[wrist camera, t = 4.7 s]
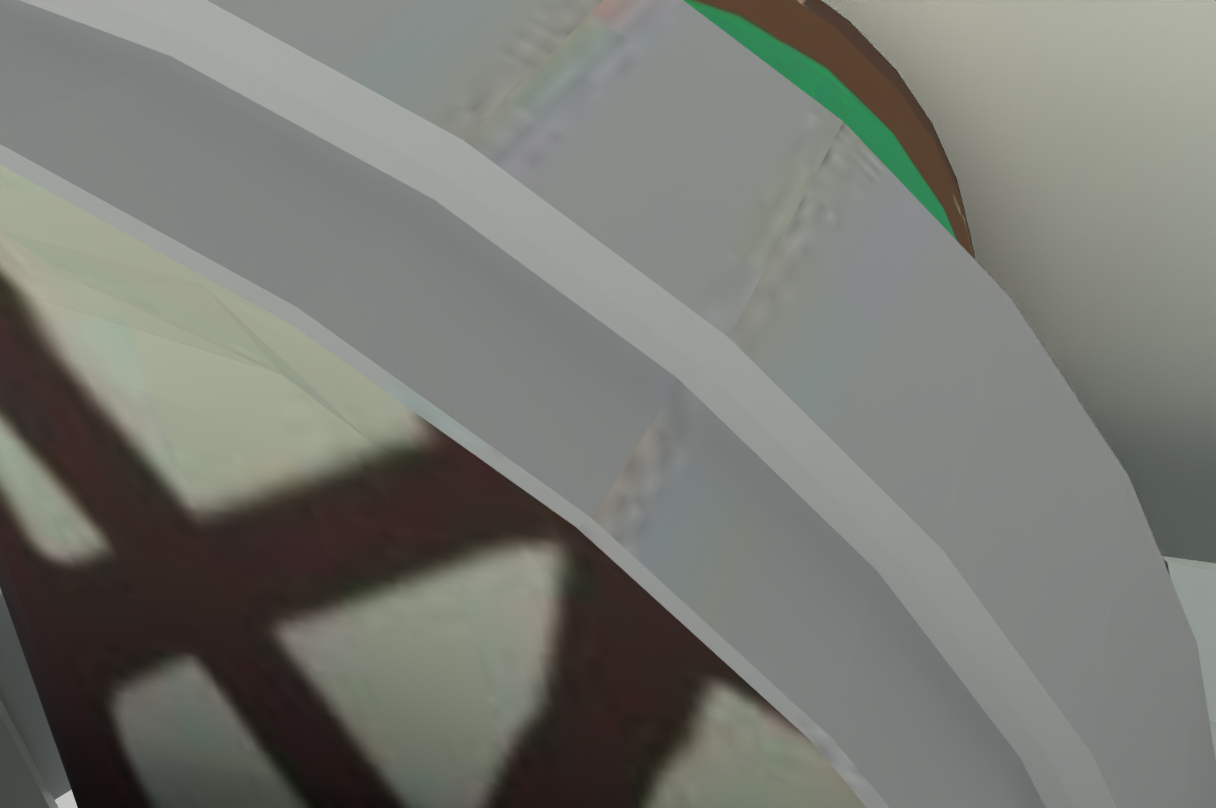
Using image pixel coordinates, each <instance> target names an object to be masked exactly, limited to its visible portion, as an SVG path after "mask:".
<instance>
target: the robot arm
mask: <svg viewBox="0 0 1216 808" xmlns="http://www.w3.org/2000/svg"><path fill="white" fill-rule="evenodd" d="M1162 558H1163V561H1164V563H1165V566H1166V568H1167V571H1168V573H1169V576H1170V578H1171V580H1172V583H1173V585H1174V588H1175V590H1176V593H1177V595H1178V598H1179V600H1180V603H1181V605H1182V607H1183V610H1184V612H1185V615H1186V617H1187V620H1188V622H1189V625H1190V627H1191V630H1192V632H1193V634H1194V637H1195V639H1196V642H1197V646H1198V652H1199V659H1200V665H1201V671H1202V677H1203V684H1204V690H1205V696H1206V703H1207V709H1208V715H1209V722H1210V728H1211V734H1212V741H1213V747H1214V753H1215V759H1216V563H1210V562H1203V561H1195V560H1188V559H1181V558H1173V557H1166V556H1162ZM70 790H71V787H70V784H69V781H68V778H67V775H66V772H65V770H64V767H63V764H62V761H61V758H60V755H59V753H58V750H57V747H56V744H55V741H54V738H53V736H52V733H51V730H50V727H49V724H48V721H47V719H46V716H45V713H44V710H43V707H42V704H41V702H40V699H39V696H38V693H37V690H36V687H35V685H34V682H33V679H32V676H31V673H30V670H29V668H28V665H27V662H26V659H25V656H24V653H23V651H22V648H21V645H20V642H19V639H18V636H17V634H16V631H15V628H14V625H13V622H12V619H11V617H10V614H9V611H8V608H7V605H6V602H5V600H4V597H3V594H2V591H1V588H0V808H58V806H57V804H56V802H55V799H57V798H58V797H60V796H62V795H63V794H65V793H67V792H68V791H70Z"/></svg>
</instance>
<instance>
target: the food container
mask: <svg viewBox="0 0 1216 808" xmlns="http://www.w3.org/2000/svg"><path fill="white" fill-rule="evenodd" d="M0 588H1V591H2V594H3V597H4V600H5V602H6V605H7V608H8V611H9V614H10V617H11V619H12V622H13V625H14V628H15V631H16V634H17V636H18V639H19V642H20V645H21V648H22V651H23V653H24V656H25V659H26V662H27V665H28V668H29V670H30V673H31V676H32V679H33V682H34V685H35V687H36V690H37V693H38V696H39V699H40V702H41V704H42V707H43V710H44V713H45V716H46V719H47V721H48V724H49V727H50V730H51V733H52V736H53V738H54V741H55V744H56V747H57V750H58V753H59V755H60V758H61V761H62V764H63V767H64V770H65V772H66V775H67V778H68V781H69V784H70V787H71V789H72V792H73V795H74V798H75V801H76V804H77V806H78V808H1216V759H1215V753H1214V747H1213V741H1212V734H1211V728H1210V722H1209V715H1208V709H1207V703H1206V696H1205V690H1204V684H1203V677H1202V671H1201V665H1200V659H1199V652H1198V646H1197V642H1196V639H1195V637H1194V634H1193V632H1192V630H1191V627H1190V625H1189V622H1188V620H1187V617H1186V615H1185V612H1184V610H1183V607H1182V605H1181V603H1180V600H1179V598H1178V595H1177V593H1176V590H1175V588H1174V585H1173V583H1172V580H1171V578H1170V576H1169V573H1168V571H1167V568H1166V566H1165V563H1164V561H1163V558H1162V556H1161V553H1160V551H1159V549H1158V546H1157V544H1156V541H1155V539H1154V536H1153V534H1152V531H1151V529H1150V526H1149V524H1148V522H1147V519H1146V517H1145V514H1144V512H1143V509H1142V507H1141V504H1140V502H1139V500H1138V497H1137V495H1136V492H1135V490H1134V487H1133V485H1132V482H1131V480H1130V477H1129V475H1128V474H1127V472H1126V471H1125V469H1124V468H1123V466H1122V465H1121V463H1120V462H1119V460H1118V459H1117V457H1116V456H1115V454H1114V453H1113V451H1112V450H1111V448H1110V447H1109V445H1108V444H1107V442H1106V441H1105V439H1104V438H1103V436H1102V435H1101V433H1100V432H1099V430H1098V429H1097V427H1096V426H1095V424H1094V423H1093V421H1092V420H1091V418H1090V417H1089V415H1088V414H1087V412H1086V411H1085V409H1084V408H1083V406H1082V404H1081V403H1080V401H1079V400H1078V398H1077V397H1076V395H1075V394H1074V392H1073V391H1072V389H1071V388H1070V386H1069V385H1068V383H1067V382H1066V380H1065V379H1064V377H1063V376H1062V374H1061V373H1060V371H1059V370H1058V368H1057V367H1056V365H1055V364H1054V362H1053V361H1052V359H1051V358H1050V356H1049V355H1048V353H1047V352H1046V350H1045V349H1044V347H1043V346H1042V344H1041V343H1040V341H1039V340H1038V338H1037V337H1036V335H1035V334H1034V332H1033V331H1032V329H1031V328H1030V326H1029V324H1028V323H1027V321H1026V320H1025V318H1024V317H1023V315H1022V314H1021V312H1020V311H1019V309H1018V308H1017V306H1016V305H1015V303H1014V302H1013V300H1012V299H1011V297H1010V296H1009V295H1008V294H1007V293H1006V292H1005V291H1004V290H1003V289H1002V288H1001V287H1000V286H999V285H998V284H997V283H996V282H995V280H994V279H993V278H992V277H991V276H990V275H989V274H988V273H987V272H986V271H985V270H984V269H983V268H982V267H981V266H980V265H979V264H978V263H977V262H976V260H975V257H974V251H973V246H972V241H971V236H970V232H969V228H968V224H967V220H966V215H965V211H964V207H963V203H962V199H961V194H960V190H959V186H958V182H957V179H956V177H955V174H954V172H953V170H952V167H951V165H950V163H949V161H948V158H947V156H946V154H945V152H944V149H943V147H942V145H941V143H940V140H939V138H938V136H937V133H936V131H935V129H934V127H933V124H932V123H931V121H930V120H929V118H928V117H927V115H926V114H925V112H924V111H923V109H922V108H921V106H920V105H919V103H918V102H917V100H916V99H915V97H914V96H913V94H912V93H911V91H910V90H909V88H908V87H907V85H906V84H905V82H904V81H903V80H902V78H901V77H900V75H899V74H898V72H897V71H896V69H895V68H894V67H893V66H892V65H891V64H890V63H889V62H888V61H887V60H886V59H885V58H884V57H883V56H882V55H881V54H880V53H879V52H878V51H877V50H876V48H875V47H874V46H873V45H872V44H871V43H870V42H869V41H868V40H867V39H866V38H865V37H864V36H863V35H862V34H861V33H860V32H859V31H858V30H857V29H856V28H855V27H854V26H853V24H852V23H851V22H850V21H848V20H847V19H846V18H844V17H843V16H842V15H840V14H839V13H837V12H836V11H835V10H833V9H832V8H831V7H829V6H828V5H827V4H825V3H824V2H823V1H821V0H0Z"/></svg>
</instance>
